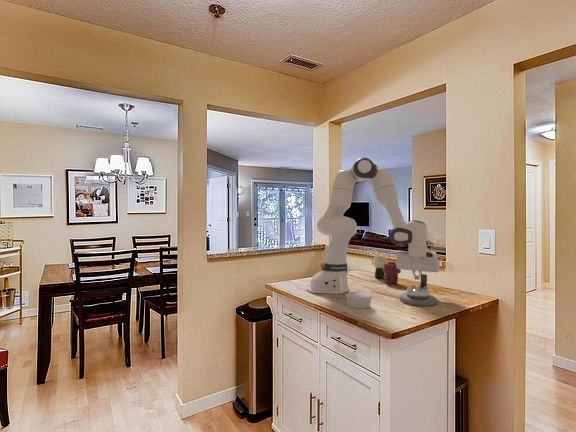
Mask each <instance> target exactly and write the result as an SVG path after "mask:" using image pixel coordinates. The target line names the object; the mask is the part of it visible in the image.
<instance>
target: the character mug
mask: <svg viewBox="0 0 576 432" xmlns="http://www.w3.org/2000/svg"><path fill="white" fill-rule="evenodd" d="M388 262H390V261H389V260H387V257H386V256H380V255H379V256H378V255H377V256H374V257H373V258H372V259H371V265H373V267H374V268H375V271H374V277H375V278H378V279H383V278H385V273H384V272H383V268H384V263H388Z"/></svg>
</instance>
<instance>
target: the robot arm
mask: <svg viewBox="0 0 576 432" xmlns="http://www.w3.org/2000/svg"><path fill="white" fill-rule="evenodd" d="M365 182H368V183H370V185H371V187H372V191H373V193H374V195H375V198H376V200H377V202H378V204H380V205H381V206H382V207H383V208H384V209H385V211H386V212H387V213H388V215H389V218H390V221H391V224H392V226H393V227H392V229H391V231H390V232H389V235H388V236H389V237H388V238H389V240H390V242H391V243H392V244H394V245H396V246H404V245H408V247H407V249H408V251H402V250H401V251H397V252H396V255H395V256H396V257H395V258H396V263H397V265H396V267H397V269H400V270H402V271H411V273H412V274H413V277H414V280H417V281H419V280H420V281H421V274H423V272H424V273H425V272H428V273H439V272H440V265H439V262H440V261H439V259H438V257H437V255H438V253H437V252H436V251H433V250H431V249H428V244H427V240H428V227H427V224H426V223H425V222H423V221H421V220H417V219H415V220H414V219H412V220H411V219H410V221H408V222H405V219H404V217H403V214H402V211H401V208H400V203H399V198H398V193H397V189H396V186H395V183H394V180H393V178H392V176H391V174H390V172H389V170H388V169H387V168H385V167H379V166H378V165H377V164H376V163H374V162H373V161H372V160H371V159H370V158H367V157H361V158H358V159H356V160H355V162H354V163H353V164H352V166H351V168H350V169H342V170H339V171H337V173H336V175H335V177H334V180H333V183H332V189H331V194H330V199H329V204H328V205H327V208H326V210H325V212H324V214H323V215H322V217H320V218H319V219H318V221H317V223H316V227H317V230H318V232H319V234H322V235H323V236H328V237H331V240H330V243H329V244H328V245H327V246H326V248H325V253H324V254H325V256H324V257H325V258H324V259H325V262H320V263H319V265H318V266H320V267H321V270H319V271H317V273H315V274H314V275H313V276H312V277H311V280H310V284H307V286H306V288H305V289H306V291H308V293H311V294H331V295H333V294H334V295H342V294H343V293H348V292H350V288H349V283H348V282H349V281H348V263H347V258H348V257H347V255H348V254H347V253H348V246H349V243H350V240H351V239H352V237H354V236H355V235H356V234H357V232H358V231H357V230H358V226H357V225H358V224H357V222H356V220H355V219H354V218H351V217H348V216H344V214H345V212H346V211H347V210H348V209H350V207H351V204H352V198H353V194H354V187H355V184H361V183H365ZM416 271H417V272H418V273H419V274H418V275H417V274H416Z"/></svg>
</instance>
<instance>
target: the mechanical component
mask: <svg viewBox="0 0 576 432" xmlns="http://www.w3.org/2000/svg"><path fill="white" fill-rule="evenodd" d="M396 265H397V262H395V261H389V262H388V263H387V262H386V263H384V268H383V272H384V273H385V277H384V281H386V283H387V284H388V285H396V284H398V281H399V274H401V271H402V269H397V267H396Z"/></svg>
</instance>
